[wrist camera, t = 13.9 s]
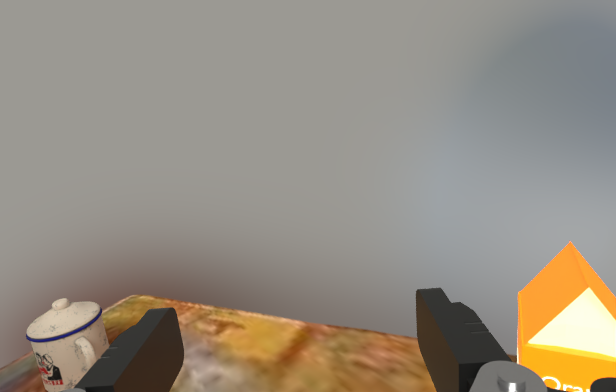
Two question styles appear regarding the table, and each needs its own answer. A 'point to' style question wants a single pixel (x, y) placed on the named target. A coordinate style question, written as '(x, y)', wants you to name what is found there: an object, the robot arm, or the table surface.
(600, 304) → the orange juice
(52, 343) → the teacup with lid
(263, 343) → the table surface
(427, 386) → the table surface
